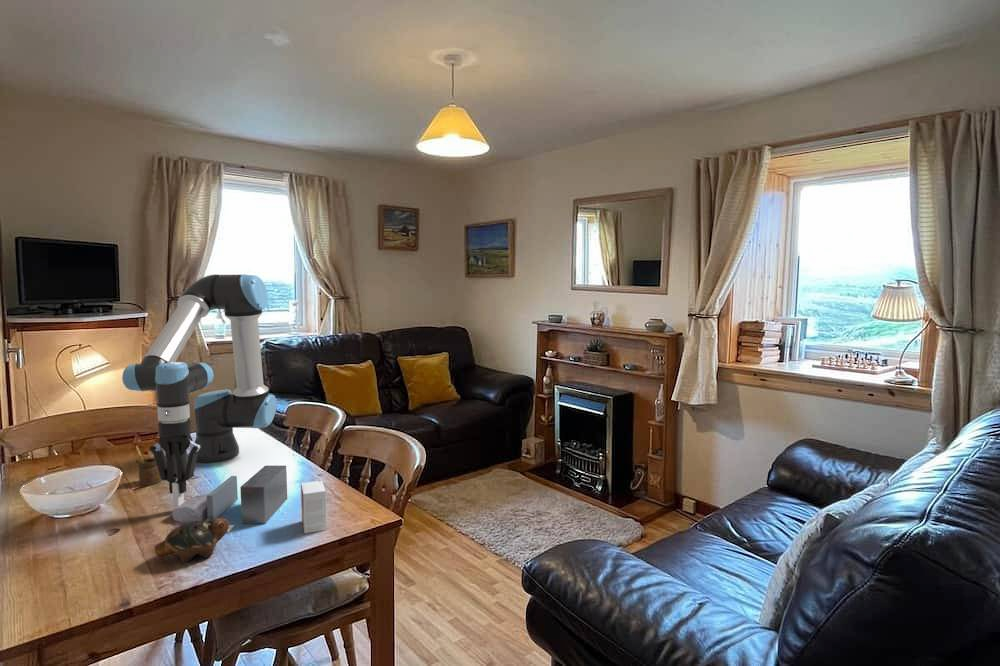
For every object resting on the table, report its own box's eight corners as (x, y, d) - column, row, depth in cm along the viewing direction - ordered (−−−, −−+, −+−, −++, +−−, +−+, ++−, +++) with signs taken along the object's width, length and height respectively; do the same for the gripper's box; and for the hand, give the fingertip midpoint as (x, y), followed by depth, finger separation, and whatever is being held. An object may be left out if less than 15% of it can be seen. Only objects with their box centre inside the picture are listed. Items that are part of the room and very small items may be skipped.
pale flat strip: (195, 526, 141) (195, 524, 141) (234, 526, 141) (234, 524, 141) (188, 532, 138) (188, 530, 138) (228, 532, 138) (228, 530, 138)
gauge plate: (232, 499, 157) (231, 475, 157) (237, 499, 157) (236, 475, 157) (197, 530, 138) (196, 503, 138) (203, 530, 138) (202, 503, 138)
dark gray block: (266, 498, 159) (265, 465, 158) (287, 498, 159) (286, 465, 158) (241, 523, 143) (240, 487, 142) (265, 523, 143) (263, 486, 142)
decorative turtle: (234, 554, 127) (230, 523, 126) (157, 578, 119) (152, 544, 118) (228, 536, 135) (224, 506, 134) (156, 556, 127) (151, 525, 126)
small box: (301, 521, 145) (300, 482, 144) (323, 517, 147) (322, 479, 146) (303, 534, 137) (302, 494, 136) (327, 530, 140) (325, 490, 138)
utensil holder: (159, 484, 169) (157, 446, 168) (135, 487, 167) (133, 448, 165) (164, 477, 174) (162, 441, 173) (141, 480, 172) (138, 443, 171)
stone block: (169, 528, 144) (203, 522, 143) (165, 510, 144) (199, 505, 143) (199, 510, 156) (231, 505, 155) (195, 494, 156) (227, 489, 155)
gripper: (141, 423, 143) (146, 510, 146) (191, 424, 144) (195, 510, 146) (158, 416, 151) (162, 498, 153) (205, 416, 151) (209, 498, 154)
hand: (178, 504), depth 150 cm, fingers closed
